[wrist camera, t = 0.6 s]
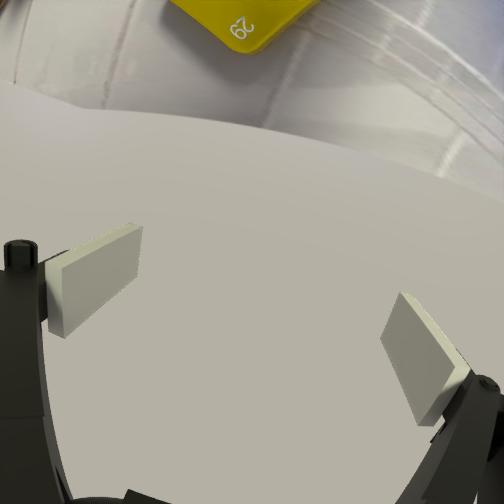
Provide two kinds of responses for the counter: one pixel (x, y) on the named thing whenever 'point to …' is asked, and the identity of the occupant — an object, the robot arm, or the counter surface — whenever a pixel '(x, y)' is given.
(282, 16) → the element tile
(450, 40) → the counter surface
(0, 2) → the u rest
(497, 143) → the counter surface
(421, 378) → the robot arm
